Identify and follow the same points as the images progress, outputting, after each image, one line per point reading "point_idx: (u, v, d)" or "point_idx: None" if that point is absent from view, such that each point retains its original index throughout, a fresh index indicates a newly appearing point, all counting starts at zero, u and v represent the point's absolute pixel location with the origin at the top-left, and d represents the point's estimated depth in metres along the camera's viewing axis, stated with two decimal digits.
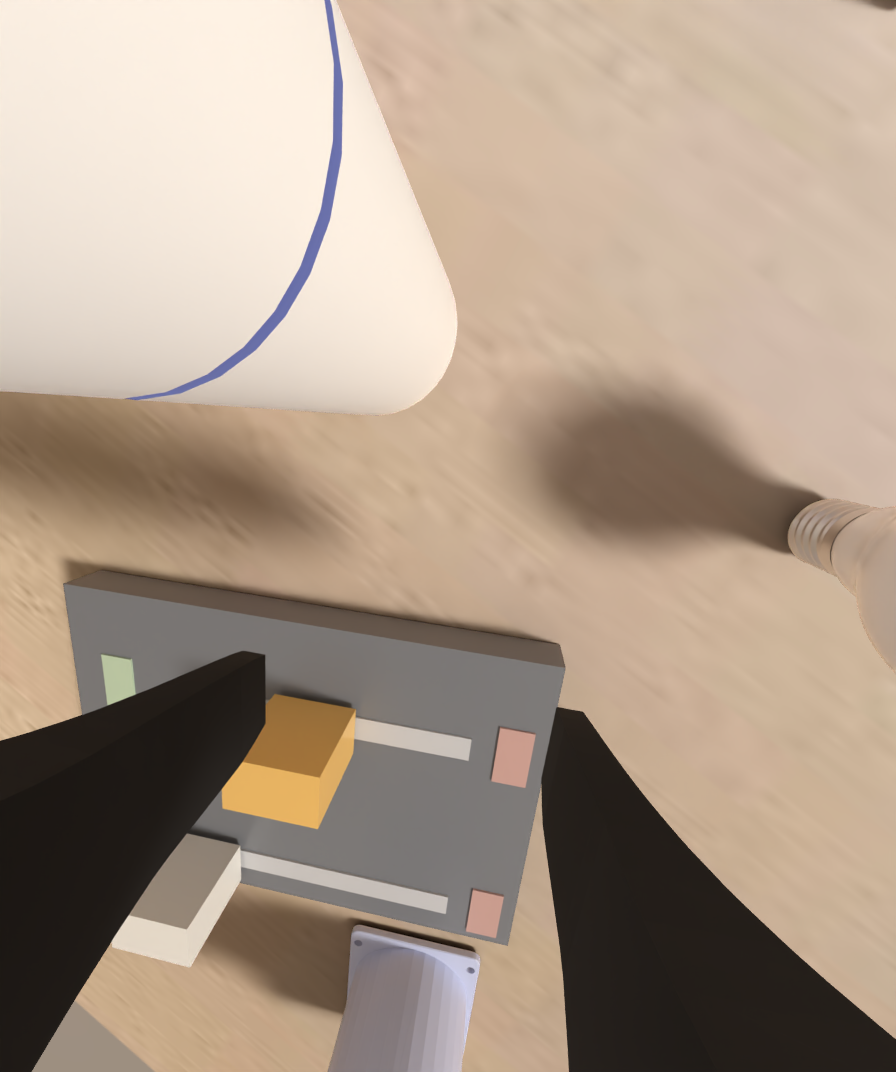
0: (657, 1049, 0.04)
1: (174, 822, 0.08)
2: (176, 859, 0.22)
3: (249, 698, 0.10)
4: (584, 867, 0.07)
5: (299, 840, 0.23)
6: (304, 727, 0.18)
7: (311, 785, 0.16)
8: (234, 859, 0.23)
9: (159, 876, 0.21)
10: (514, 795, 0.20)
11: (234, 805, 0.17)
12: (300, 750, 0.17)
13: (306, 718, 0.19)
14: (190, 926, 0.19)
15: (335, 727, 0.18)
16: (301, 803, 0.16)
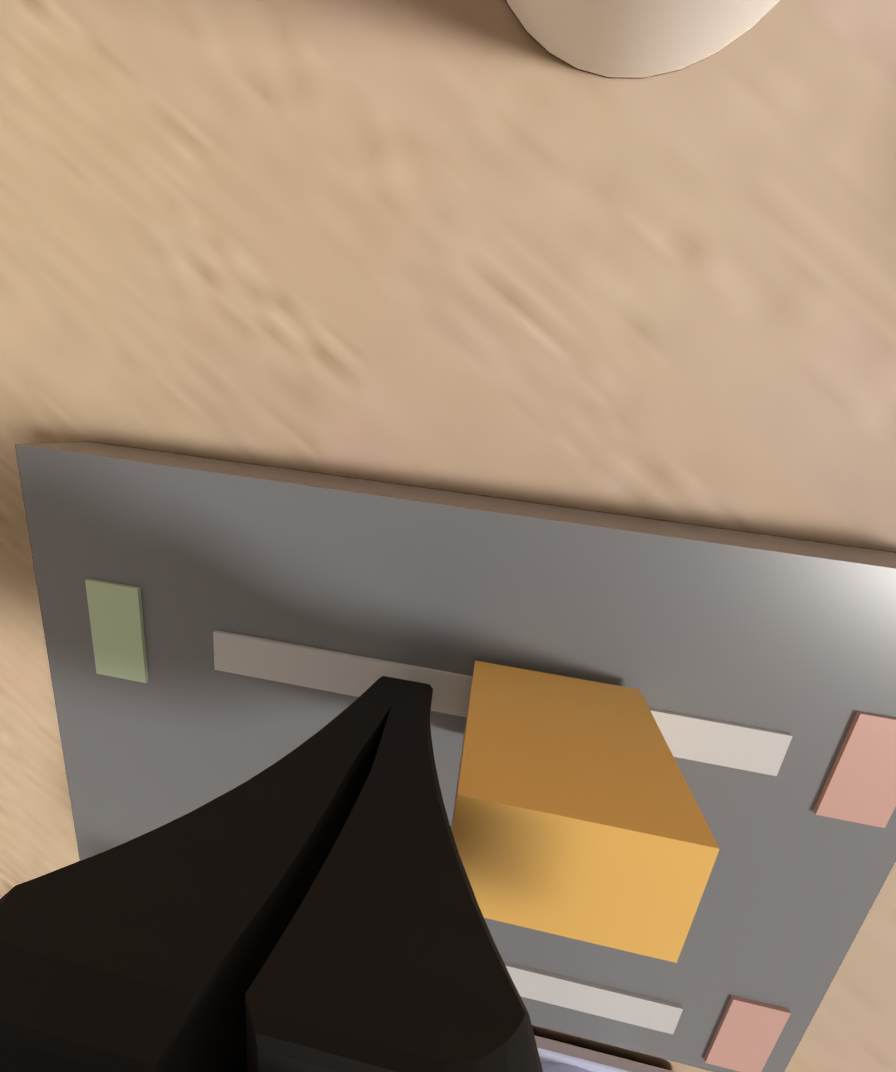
0: None
1: None
2: None
3: None
4: None
5: None
6: (579, 724, 0.09)
7: (690, 866, 0.07)
8: None
9: None
10: (853, 840, 0.11)
11: None
12: (617, 776, 0.07)
13: (568, 706, 0.09)
14: None
15: (637, 724, 0.09)
16: (650, 905, 0.07)
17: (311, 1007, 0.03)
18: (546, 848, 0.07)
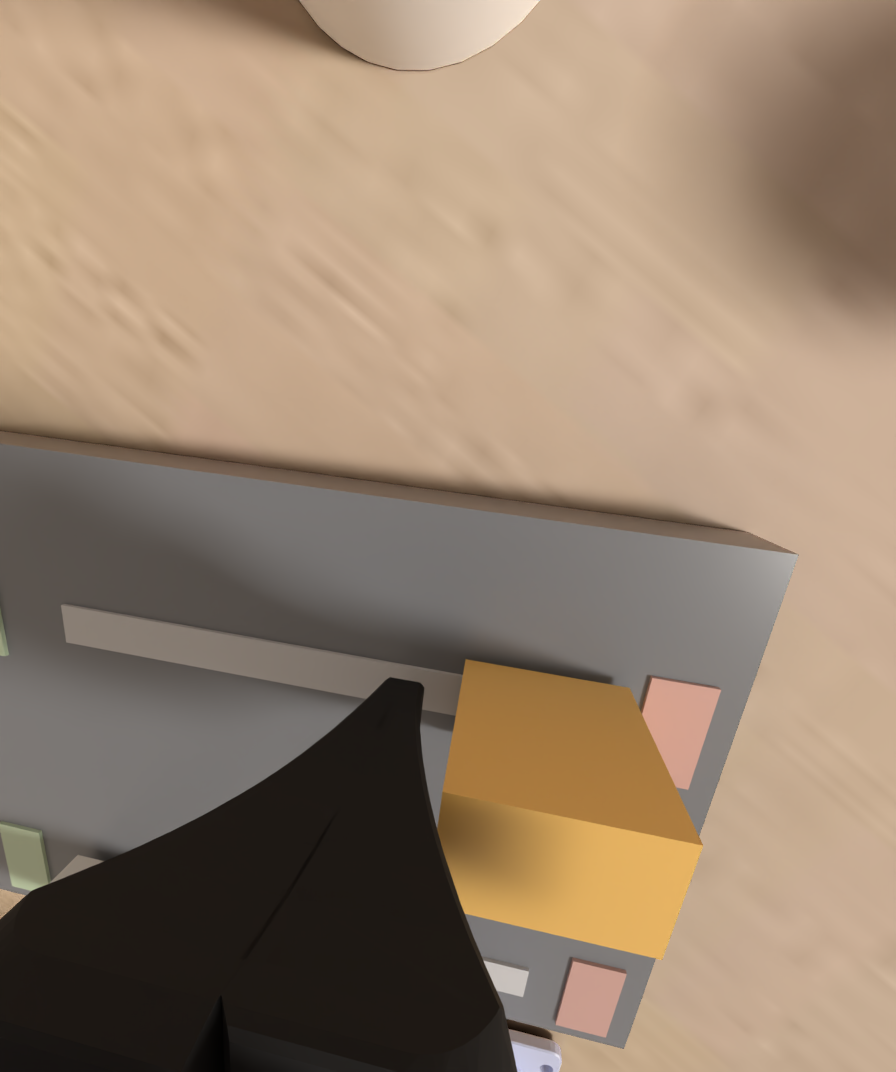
0: None
1: None
2: None
3: None
4: None
5: None
6: (567, 723, 0.09)
7: (674, 863, 0.07)
8: None
9: None
10: None
11: None
12: (603, 774, 0.08)
13: (556, 704, 0.09)
14: None
15: (626, 722, 0.09)
16: (634, 902, 0.07)
17: (284, 1000, 0.03)
18: (531, 845, 0.07)
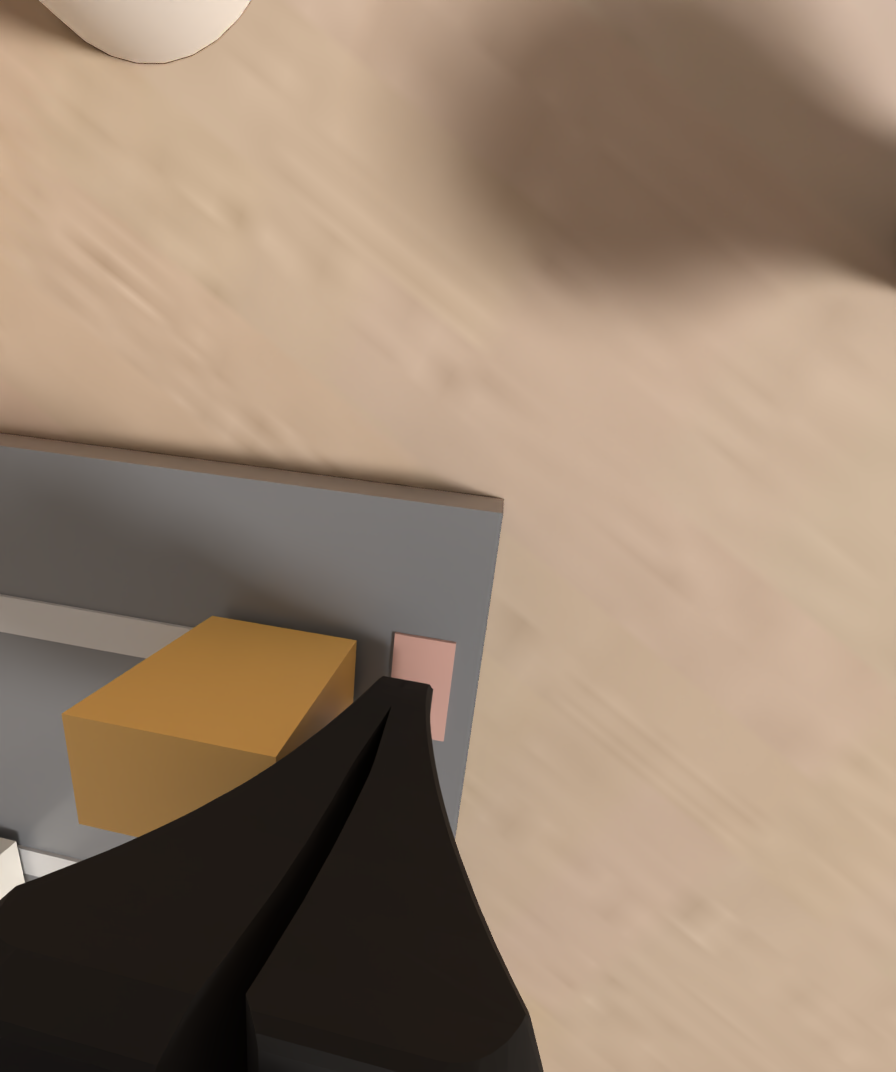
0: None
1: None
2: None
3: None
4: None
5: (105, 833, 0.14)
6: (256, 665, 0.09)
7: None
8: (0, 863, 0.14)
9: None
10: None
11: (102, 818, 0.08)
12: (242, 704, 0.08)
13: (263, 651, 0.10)
14: None
15: (317, 666, 0.10)
16: None
17: (311, 1007, 0.03)
18: (144, 762, 0.08)
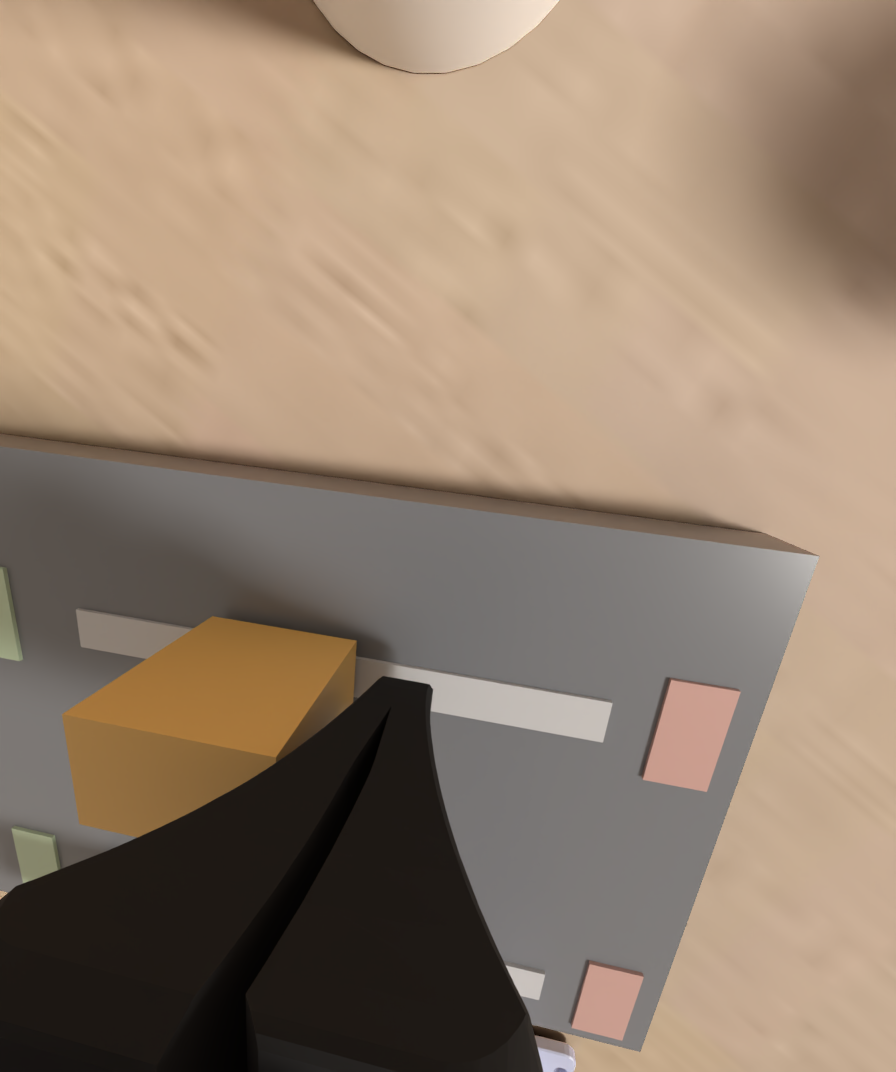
0: None
1: None
2: None
3: None
4: None
5: None
6: (256, 666, 0.09)
7: None
8: None
9: None
10: (681, 804, 0.11)
11: (101, 818, 0.08)
12: (243, 704, 0.08)
13: (263, 651, 0.10)
14: None
15: (317, 666, 0.10)
16: None
17: (311, 1006, 0.03)
18: (144, 763, 0.08)
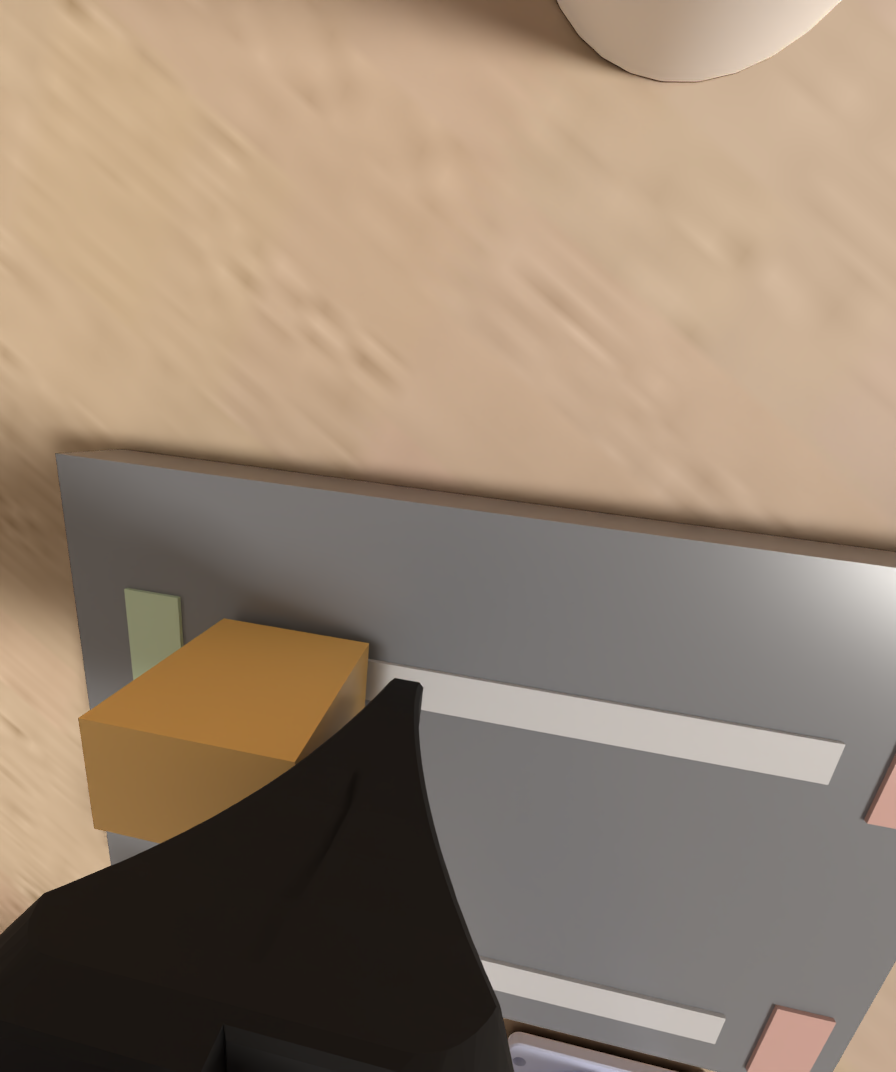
0: None
1: None
2: None
3: None
4: None
5: None
6: (270, 669, 0.09)
7: None
8: None
9: None
10: None
11: (117, 822, 0.08)
12: (259, 708, 0.08)
13: (276, 654, 0.10)
14: None
15: (331, 669, 0.10)
16: None
17: (281, 999, 0.03)
18: (161, 767, 0.07)
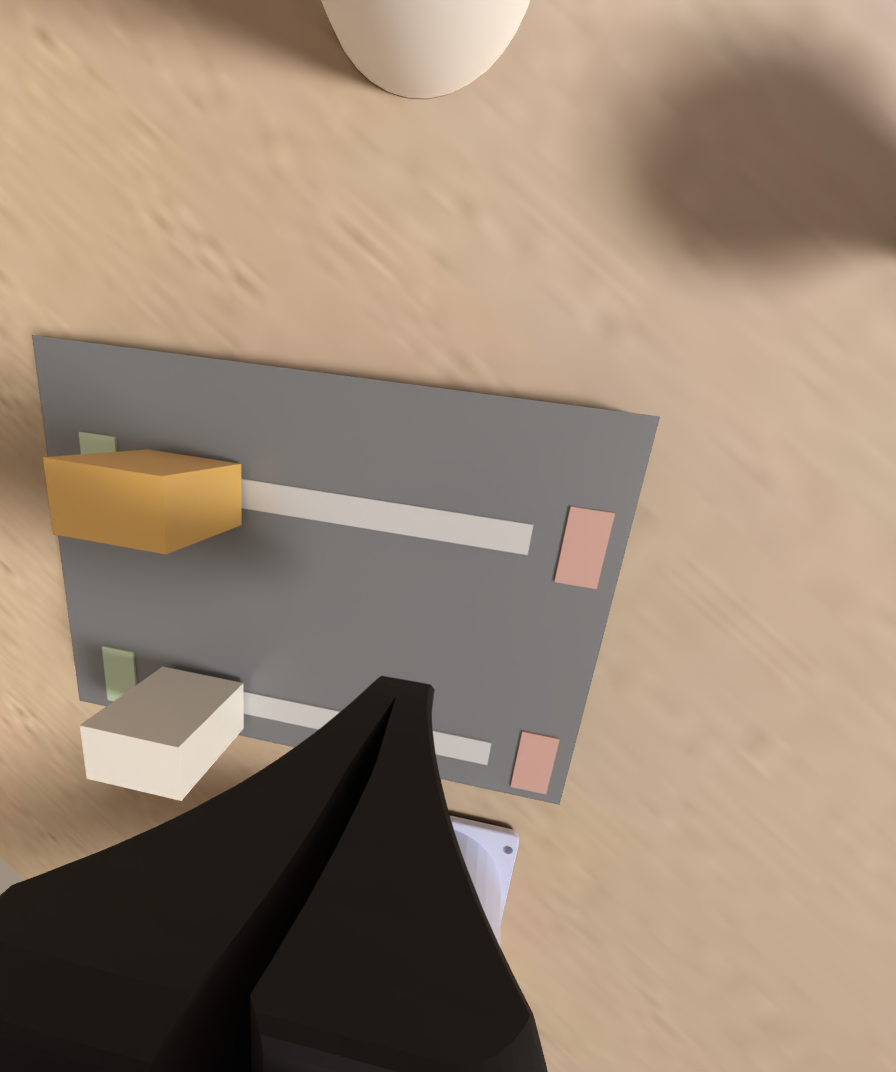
0: None
1: None
2: (166, 689, 0.18)
3: None
4: None
5: (314, 676, 0.19)
6: (167, 461, 0.15)
7: (153, 489, 0.13)
8: (236, 696, 0.19)
9: (145, 702, 0.17)
10: (581, 601, 0.17)
11: (66, 528, 0.14)
12: (151, 466, 0.14)
13: (174, 459, 0.16)
14: (182, 746, 0.16)
15: (207, 465, 0.15)
16: (143, 517, 0.13)
17: (315, 1008, 0.03)
18: (90, 487, 0.13)
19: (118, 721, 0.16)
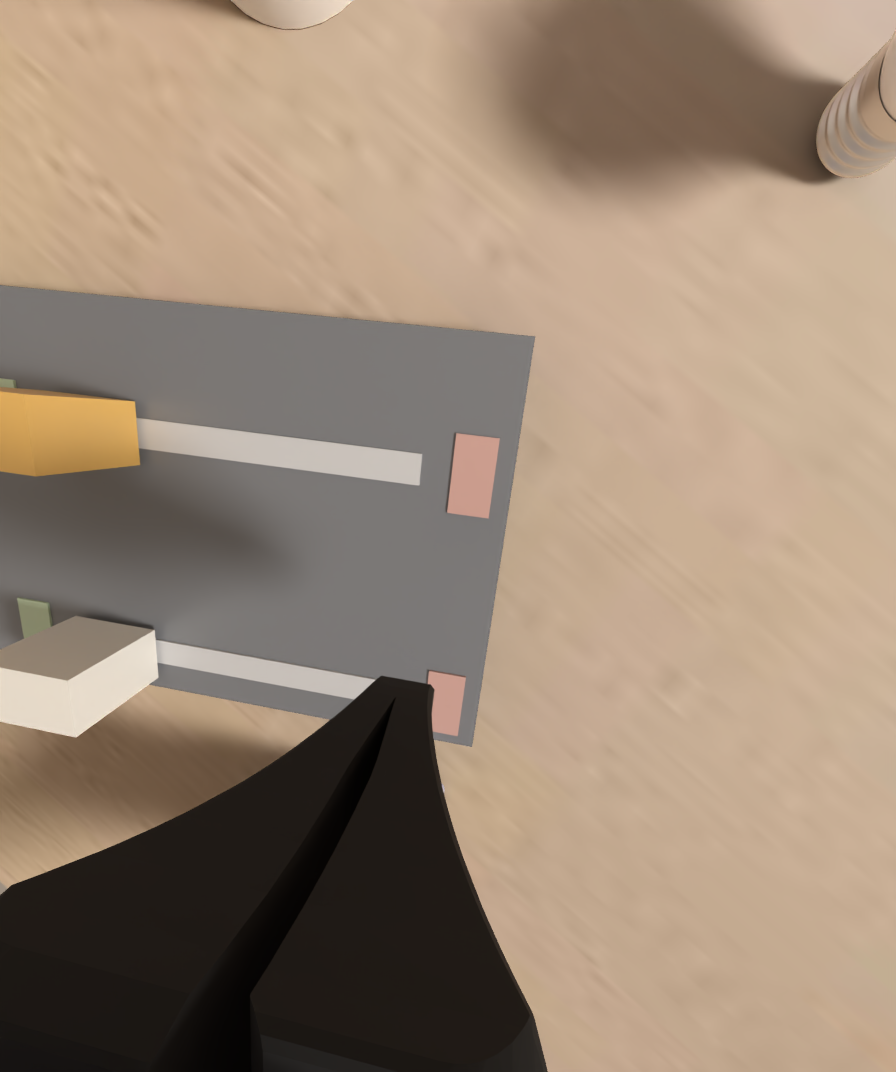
0: None
1: None
2: (73, 634, 0.18)
3: None
4: None
5: (224, 621, 0.19)
6: (51, 393, 0.15)
7: (17, 408, 0.13)
8: (145, 642, 0.19)
9: (47, 644, 0.17)
10: (475, 532, 0.16)
11: None
12: (24, 392, 0.14)
13: (62, 394, 0.16)
14: (73, 680, 0.16)
15: (92, 398, 0.15)
16: (11, 438, 0.13)
17: (315, 1008, 0.03)
18: None
19: (13, 659, 0.16)
